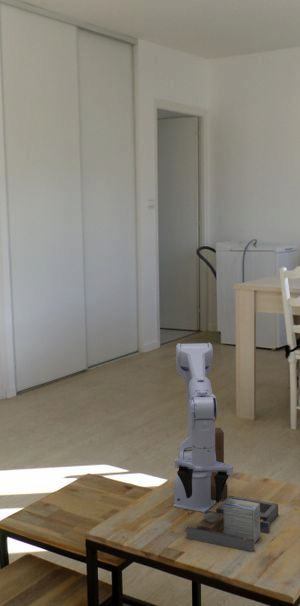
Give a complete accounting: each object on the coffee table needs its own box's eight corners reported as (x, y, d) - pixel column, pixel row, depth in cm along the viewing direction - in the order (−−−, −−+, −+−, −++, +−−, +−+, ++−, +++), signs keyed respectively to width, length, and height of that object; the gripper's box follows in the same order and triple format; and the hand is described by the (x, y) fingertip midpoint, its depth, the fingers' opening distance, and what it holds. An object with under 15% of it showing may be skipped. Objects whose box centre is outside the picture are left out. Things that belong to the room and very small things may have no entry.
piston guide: (186, 538, 182) (185, 527, 182) (206, 519, 193) (206, 509, 193) (252, 552, 174) (252, 541, 174) (269, 531, 185) (269, 520, 185)
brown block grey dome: (196, 536, 183) (196, 521, 182) (210, 522, 190) (210, 508, 190) (211, 539, 181) (211, 524, 180) (225, 525, 189) (225, 511, 188)
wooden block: (227, 500, 205) (227, 436, 203) (211, 501, 205) (211, 437, 203) (221, 488, 214) (220, 427, 212) (205, 489, 214) (205, 428, 212)
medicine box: (260, 537, 182) (260, 502, 181) (254, 544, 178) (254, 509, 177) (230, 531, 186) (230, 497, 185) (223, 538, 182) (223, 504, 181)
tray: (216, 519, 193) (216, 508, 192) (229, 506, 201) (229, 495, 201) (266, 528, 187) (266, 517, 186) (278, 515, 195) (278, 504, 194)
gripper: (169, 446, 182) (170, 500, 183) (226, 453, 176) (226, 508, 178) (180, 438, 188) (180, 490, 190) (235, 444, 182) (235, 498, 184)
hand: (203, 498), depth 184 cm, fingers open, 7 cm apart
